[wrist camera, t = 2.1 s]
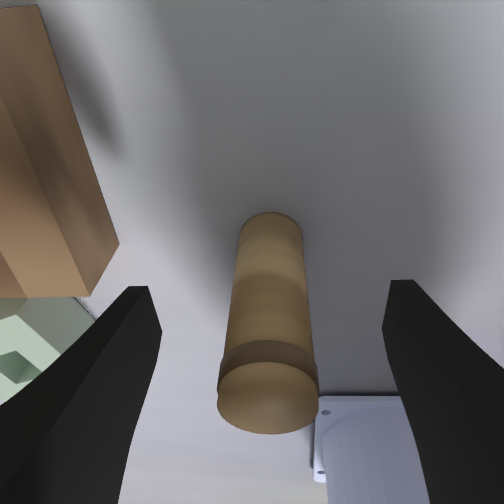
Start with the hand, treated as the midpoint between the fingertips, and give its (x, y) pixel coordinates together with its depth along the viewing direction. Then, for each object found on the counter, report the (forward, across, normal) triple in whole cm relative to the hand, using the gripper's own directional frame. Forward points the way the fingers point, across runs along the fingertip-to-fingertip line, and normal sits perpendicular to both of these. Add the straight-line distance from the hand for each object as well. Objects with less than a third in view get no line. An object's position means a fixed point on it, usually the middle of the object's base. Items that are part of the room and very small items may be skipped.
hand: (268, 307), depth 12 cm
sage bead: (+4, +11, +5) cm, 12 cm away
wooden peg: (+4, 0, 0) cm, 4 cm away
